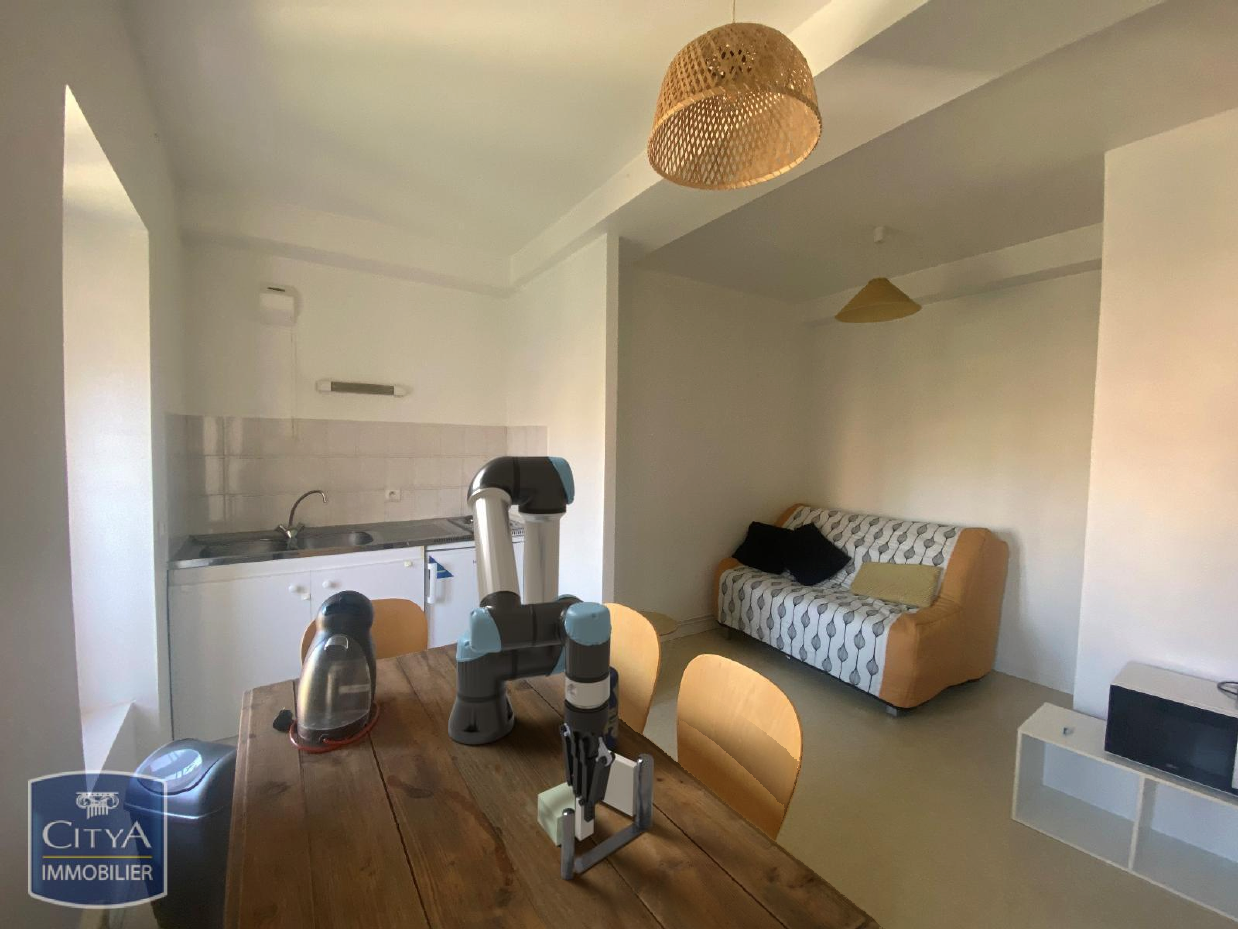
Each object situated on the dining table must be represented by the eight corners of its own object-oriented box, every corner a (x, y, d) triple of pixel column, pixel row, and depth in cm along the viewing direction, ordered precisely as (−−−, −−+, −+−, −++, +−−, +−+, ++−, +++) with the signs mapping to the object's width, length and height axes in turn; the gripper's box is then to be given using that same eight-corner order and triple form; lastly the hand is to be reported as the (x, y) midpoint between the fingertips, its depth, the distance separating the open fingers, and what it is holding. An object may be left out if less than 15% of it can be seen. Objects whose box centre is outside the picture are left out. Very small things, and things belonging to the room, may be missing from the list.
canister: (612, 761, 107) (614, 678, 107) (570, 754, 109) (571, 673, 108) (621, 736, 117) (623, 660, 116) (582, 730, 118) (583, 655, 118)
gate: (637, 811, 91) (638, 763, 91) (631, 817, 90) (632, 768, 89) (581, 782, 99) (582, 738, 98) (575, 787, 97) (576, 742, 97)
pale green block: (537, 821, 90) (538, 794, 90) (571, 805, 94) (571, 779, 94) (556, 847, 84) (557, 818, 84) (591, 829, 88) (591, 801, 88)
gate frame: (556, 871, 79) (558, 797, 79) (644, 815, 92) (645, 751, 91) (567, 884, 77) (569, 808, 76) (655, 825, 89) (657, 759, 89)
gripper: (546, 689, 86) (544, 822, 87) (592, 722, 76) (589, 871, 77) (581, 677, 91) (579, 802, 92) (629, 706, 81) (626, 847, 82)
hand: (584, 834), depth 85 cm, fingers closed
